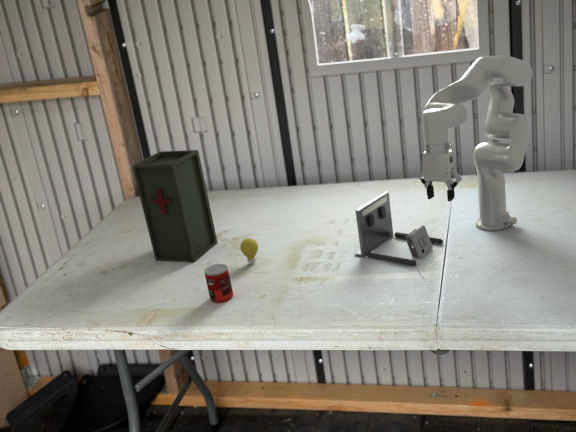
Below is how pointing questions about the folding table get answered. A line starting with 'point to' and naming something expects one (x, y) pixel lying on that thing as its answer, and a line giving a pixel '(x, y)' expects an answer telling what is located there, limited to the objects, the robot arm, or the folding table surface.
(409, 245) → the electrical switch
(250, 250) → the light bulb
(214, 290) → the canned food
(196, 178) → the first aid box
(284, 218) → the folding table surface
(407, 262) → the cable near
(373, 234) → the panel
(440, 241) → the cable far
